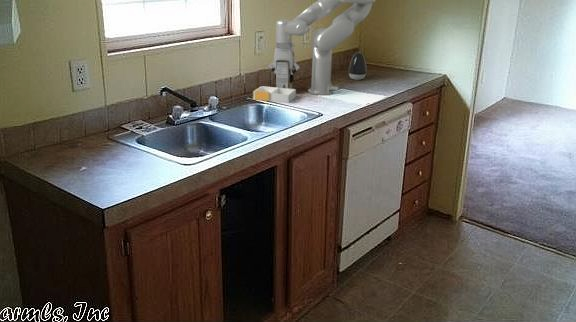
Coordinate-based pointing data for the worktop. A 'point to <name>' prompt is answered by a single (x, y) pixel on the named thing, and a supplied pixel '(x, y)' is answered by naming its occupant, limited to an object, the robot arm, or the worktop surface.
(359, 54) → the black rounded egg shape
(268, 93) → the rack
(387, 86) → the worktop surface
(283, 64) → the coffee box
